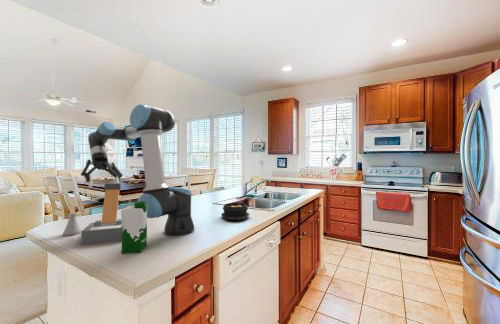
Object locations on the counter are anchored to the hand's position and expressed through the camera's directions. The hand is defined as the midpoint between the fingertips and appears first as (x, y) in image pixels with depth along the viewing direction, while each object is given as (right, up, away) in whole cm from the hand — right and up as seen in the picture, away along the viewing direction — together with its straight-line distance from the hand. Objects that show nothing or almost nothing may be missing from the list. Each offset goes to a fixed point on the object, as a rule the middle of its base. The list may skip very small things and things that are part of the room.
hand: (105, 187), depth 122 cm
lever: (+10, -17, -12) cm, 23 cm away
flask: (-12, -23, -7) cm, 27 cm away
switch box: (+10, -23, -12) cm, 28 cm away
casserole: (+68, -23, +28) cm, 77 cm away
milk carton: (+30, -23, -27) cm, 47 cm away
